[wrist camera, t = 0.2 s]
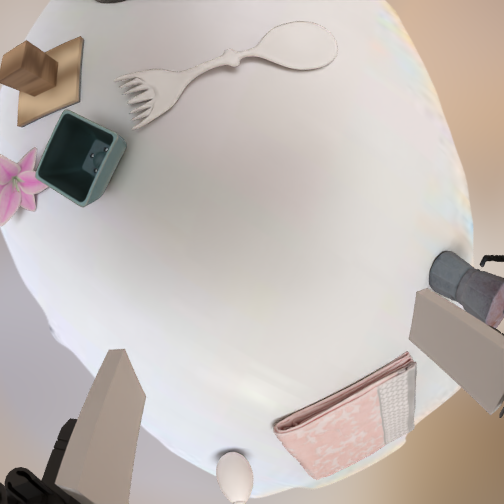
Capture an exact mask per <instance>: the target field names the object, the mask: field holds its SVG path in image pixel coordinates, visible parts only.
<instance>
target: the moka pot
mask: <svg viewBox="0 0 504 504" xmlns="http://www.w3.org/2000/svg"><path fill="white" fill-rule="evenodd" d="M486 261H497V262H504V255H502V256H501V255H499V256H498V255H495V256H494V255H491V256H490V255H485V256H484V257H483V259H482V261H481V263H480V266H481V267H484V264H485V262H486ZM429 283H430V286H431V288H432V289H433V290H434V291H435V292H437V293H439V294H441V295H444V296H446V297H448V298H450V299H451V300H454V301H457V302H459V303H460V304H461V305H462V306H463V307H464V310H465V311H466V312H468V313H469V314H471V315H472V316H474V317H476V318H477V319H479V320H480V321H482V322H483V323H485V324H486V325H489V326H492V327H494V328H497V327H498V325H499V324H500V322H501V321H502V319H503V318H504V278H502V277H499V276H496V275H493V274H490V273H488V272H485V271H480V270H479V269H474V267H472V266H471V265H470V264H469V263H467V262H466V261H464V260H463V259H462V258H460V257H459V256H458V255H456V254H455V253H453V252H451V251H446V252H443V253H442V254H441V255H440V256H439V257H438V258H437V259H436V260H435V262H434V264H433V266H432V268H431V271H430V276H429Z"/></svg>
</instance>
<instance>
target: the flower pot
mask: <svg viewBox="0 0 504 504" xmlns="http://www.w3.org/2000/svg"><path fill="white" fill-rule="evenodd" d="M126 146H127V144H126V142H125V140H124V139H123V138H122V137H120V136H119V135H118V134H117V133H116V132H114V131H112V130H109V129H107V128H105V127H103V126H101V125H99V124H96V123H94V122H92V121H90V120H88V119H86V118H84V117H82V116H80V115H78V114H76V113H74V112H72V111H70V110H64V111H63V113H62V114H61V116H60V118H59V120H58V122H57V124H56V126H55V128H54V131H53V133H52V135H51V137H50V139H49V141H48V144H47V146H46V148H45V151H44V153H43V155H42V158H41V160H40V163H39V165H38V167H37V170H36V174H35V178H36V179H37V180H39V181H40V182H42V183H44V184H45V185H47V186H48V187H50V188H52V189H53V190H55V191H56V192H58V193H60V194H61V195H63V196H64V197H66V198H68V199H69V200H71V201H72V202H74V203H76V204H77V205H79V206H81V207H85V206H87V205H89V204H90V203H92V202H94V201H96V200H97V199H99V198H100V197H101V196H102V195H103V193H104V192H105V190H106V188H107V185H108V183H109V181H110V179H111V177H112V175H113V173H114V171H115V169H116V167H117V165H118V163H119V161H120V159H121V157H122V155H123V153H124V152H125V150H126ZM105 148H108V150H107V151H105ZM92 154H94V157H91V155H92ZM95 169H97V172H95Z"/></svg>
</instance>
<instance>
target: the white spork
mask: <svg viewBox="0 0 504 504" xmlns="http://www.w3.org/2000/svg"><path fill="white" fill-rule="evenodd" d="M337 52H338V46H337V43H336V40H335V38H334V36H333V35H332V34H331V33H330V32H329V31H328V30H327V29H326V28H324V27H323V26H321V25H318V24H316V23H312V22H305V21H297V22H290V23H286V24H283V25H280V26H277V27H275V28H273V29H272V30H270V31H269V32H268V33H267V34H266V35H265V36H264V37H263V38H262V40H261V41H260V42H259V43H258V45H257V46H255V47H254V48H252V49H249V50H246V51H242V52H236V51H234V50H233V49H227V50H225V51H224V54H223V55H222V56H220V57H218V58H215V59H213V60H210V61H207V62H205V63H202V64H200V65H198V66H195V67H193V68H190V69H188V70H185V71H180V72H174V71H168V70H163V69H150V70H145V71H140V72H135V73H130V74H126V75H123V76H120V77H118V78H116V79H115V80H114V82H119V81H124V80H128V79H133V80H131V81H129V82H127V83H125V84H124V85H122V86H120V87H119V88H125V87H129V86H133V85H138V84H141V85H139V86H137V87H135V88H132V89H130V90H128V91H126V92H124V93H123V94H122V95H126V94H130V93H134V92H138V91H143V90H147V91H145V92H143V93H141V94H140V95H138V96H136V97H134V98H132V99H131V100H129V101H128V102H127V104H134V103H139V102H143V101H147V100H151V101H149V102H147V103H145V104H144V105H142V106H140V107H138V108H136V109H134V110H133V111H131V112H130V113H129V114H131V113H135V112H138V111H141V110H144V109H148V108H149V109H148V110H146V111H145V112H143V113H141V114H140V115H138V116H136V117H135V118H133V119H132V120H131V121H134V120H137V119H140V118H143V117H147V116H148V117H147V118H146V119H144V120H143V121H141V122H140V123H138V124H137V125H136V126H134V127H133V128H132V129H131V130H135V129H138V128H140V127H142V126H144V125H146V124H148V123H149V122H151V121H152V120H154V119H155V118H157V117H158V116H160V115H161V114H163V113H164V112H166V111H167V110H169V109H170V108H171V107H172V106H173V105H174V104H175V103H176V101H177V100H178V98H179V97H180V95H181V93H182V92H183V90H184V89H185V87H186V86H187V85H188V84H189V83H190V82H191V81H192V80H193V79H195V78H196V77H197V76H199V75H200V74H202V73H204V72H206V71H208V70H210V69H212V68H215V67H218V66H223V65H230V66H232V67H236V66H239V65H240V60H241V59H242V58H245V57H251V56H254V57H261V58H264V59H267V60H269V61H272V62H274V63H277V64H279V65H282V66H285V67H288V68H292V69H297V70H310V69H317V68H321V67H324V66H326V65H328V64H329V63H331V62H332V61H333V60H334V59H335V58H336V56H337Z"/></svg>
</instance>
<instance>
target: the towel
mask: <svg viewBox="0 0 504 504" xmlns="http://www.w3.org/2000/svg"><path fill="white" fill-rule="evenodd" d="M416 374H417V363H416V362H413V359H412V357H411V356H410V354H409V352H405V353H404V354H402V355H401V356H399V357H398V358H396V359H395V360H393V361H392V362H390V363H389V364H387V365H386V366H384V367H383V368H381V369H379V370H378V371H376V372H374V373H373V374H371V375H369V376H368V377H366V378H364V379H363V380H361V381H359V382H357V383H356V384H354V385H352V386H350V387H348V388H346V389H344V390H342V391H340V392H338V393H336V394H334V395H332V396H330V397H328V398H326V399H324V400H322V401H320V402H318V403H316V404H313V405H311V406H309V407H307V408H304V409H302V410H300V411H298V412H296V413H294V414H292V415H290V416H288V417H287V418H285V419H283V420H282V421H280V422H279V423H277V424H276V425H275V426H274V428H273V431H274V433H275V435H276V436H277V438H278V439H279V440H280V441H281V442H282V445H283V446H284V447H285V448H286V449H287V451H288V452H289V453H290V454H291V455H292V456H293V457H295V458H296V459H297V460H298V461H299V462H300V465H302V466H303V468H304V469H305V471H306V472H307V473H308V474H309V475H310V476H311V477H312V478H314V479H316V480H318V479H320V478H323V477H327V476H330V475H332V474H334V473H336V472H338V471H340V470H343V469H344V468H347V467H349V466H350V465H353V464H355V463H356V462H358V461H360V460H362V459H364V458H365V457H367V456H369V455H371V454H373V453H375V452H376V451H378V450H379V449H381V448H382V447H383V446H385V445H386V444H388V443H390V442H392V441H394V440H396V439H398V438H399V437H401V436H403V435H405V434H407V433H409V432H410V431H412V430H413V429H414V411H415V403H416V400H415V390H416Z"/></svg>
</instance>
